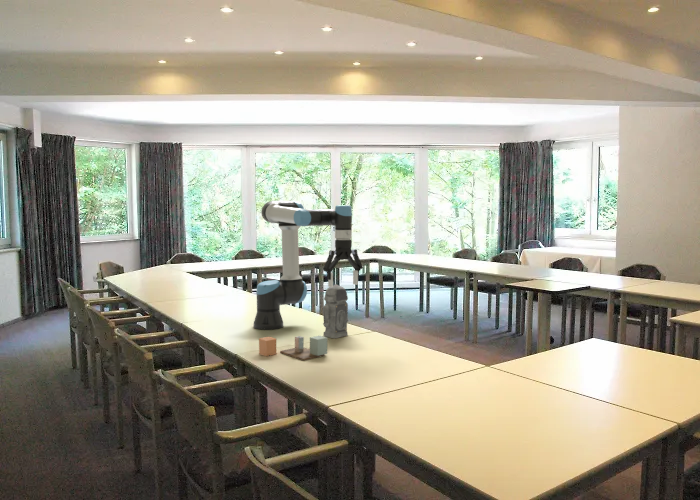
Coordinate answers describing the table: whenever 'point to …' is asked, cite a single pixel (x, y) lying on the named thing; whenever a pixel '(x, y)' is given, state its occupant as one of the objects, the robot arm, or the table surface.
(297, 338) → the post
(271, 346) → the orange block
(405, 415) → the table surface
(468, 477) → the table surface
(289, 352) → the stand
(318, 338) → the pale blue-grey block
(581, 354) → the table surface
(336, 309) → the figurine
